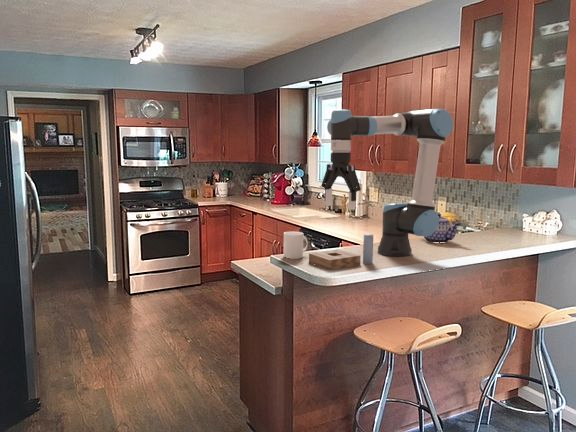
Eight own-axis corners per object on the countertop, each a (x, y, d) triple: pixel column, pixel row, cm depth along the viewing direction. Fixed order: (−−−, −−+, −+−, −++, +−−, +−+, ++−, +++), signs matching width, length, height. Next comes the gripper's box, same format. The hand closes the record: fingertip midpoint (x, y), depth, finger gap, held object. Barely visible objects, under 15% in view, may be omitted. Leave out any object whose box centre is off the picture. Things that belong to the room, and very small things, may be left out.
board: (338, 258, 213) (338, 249, 213) (360, 264, 202) (360, 255, 201) (308, 262, 205) (308, 253, 204) (329, 269, 193) (329, 260, 193)
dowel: (367, 261, 208) (368, 233, 207) (374, 263, 205) (375, 235, 203) (360, 262, 206) (361, 234, 204) (367, 264, 203) (368, 236, 201)
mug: (313, 257, 215) (313, 233, 214) (290, 260, 209) (290, 235, 207) (301, 253, 223) (302, 230, 221) (279, 256, 216) (279, 232, 214)
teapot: (408, 239, 259) (409, 211, 257) (426, 236, 268) (427, 209, 266) (448, 247, 239) (450, 217, 237) (467, 244, 248) (469, 214, 246)
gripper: (312, 151, 193) (312, 204, 196) (355, 152, 172) (354, 212, 176) (327, 151, 197) (327, 203, 200) (371, 152, 177) (369, 210, 180)
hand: (339, 207), depth 188 cm, fingers open, 13 cm apart
